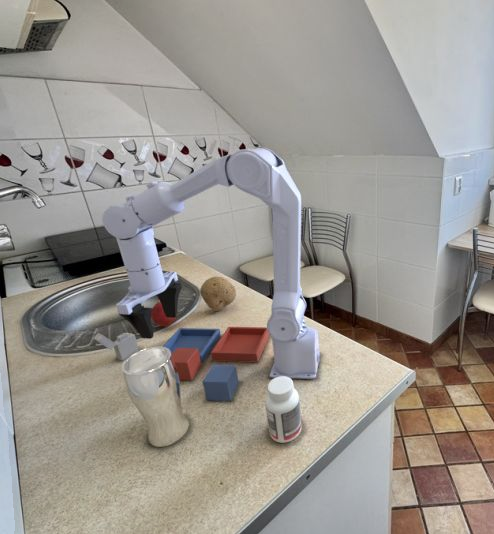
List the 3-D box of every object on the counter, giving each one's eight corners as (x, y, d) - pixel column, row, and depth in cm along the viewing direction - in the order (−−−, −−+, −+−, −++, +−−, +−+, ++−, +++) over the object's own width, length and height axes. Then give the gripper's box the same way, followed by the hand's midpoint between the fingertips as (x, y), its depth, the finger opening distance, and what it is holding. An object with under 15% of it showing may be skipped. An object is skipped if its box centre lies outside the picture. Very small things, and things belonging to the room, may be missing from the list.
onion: (169, 333, 81) (161, 305, 78) (149, 331, 82) (141, 303, 79) (184, 321, 86) (177, 294, 83) (165, 319, 87) (158, 293, 84)
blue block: (239, 383, 64) (235, 365, 63) (230, 401, 60) (226, 382, 58) (216, 382, 65) (212, 364, 63) (206, 400, 60) (202, 381, 59)
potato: (233, 298, 97) (228, 268, 93) (242, 311, 90) (237, 279, 86) (202, 307, 93) (195, 275, 89) (208, 321, 86) (201, 287, 82)
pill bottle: (303, 416, 57) (299, 372, 53) (300, 443, 52) (295, 397, 48) (272, 417, 57) (266, 373, 53) (266, 444, 52) (259, 398, 48)
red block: (202, 365, 70) (198, 348, 68) (191, 380, 65) (187, 362, 64) (181, 364, 70) (177, 347, 68) (169, 380, 66) (164, 361, 64)
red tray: (269, 334, 80) (268, 327, 79) (257, 362, 70) (256, 353, 69) (229, 334, 80) (228, 326, 79) (212, 360, 71) (210, 352, 70)
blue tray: (221, 336, 79) (219, 328, 79) (202, 363, 70) (200, 355, 69) (181, 335, 80) (179, 327, 79) (157, 362, 71) (155, 354, 70)
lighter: (135, 348, 76) (125, 319, 72) (139, 350, 75) (130, 320, 72) (103, 366, 70) (91, 335, 67) (108, 368, 69) (96, 338, 66)
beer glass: (143, 456, 50) (115, 381, 44) (148, 422, 56) (124, 352, 50) (191, 440, 53) (171, 367, 47) (191, 409, 58) (173, 341, 53)
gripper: (150, 251, 68) (164, 307, 73) (92, 281, 55) (115, 346, 60) (180, 253, 67) (193, 309, 72) (129, 283, 54) (149, 349, 59)
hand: (160, 326), depth 66 cm, fingers open, 7 cm apart
